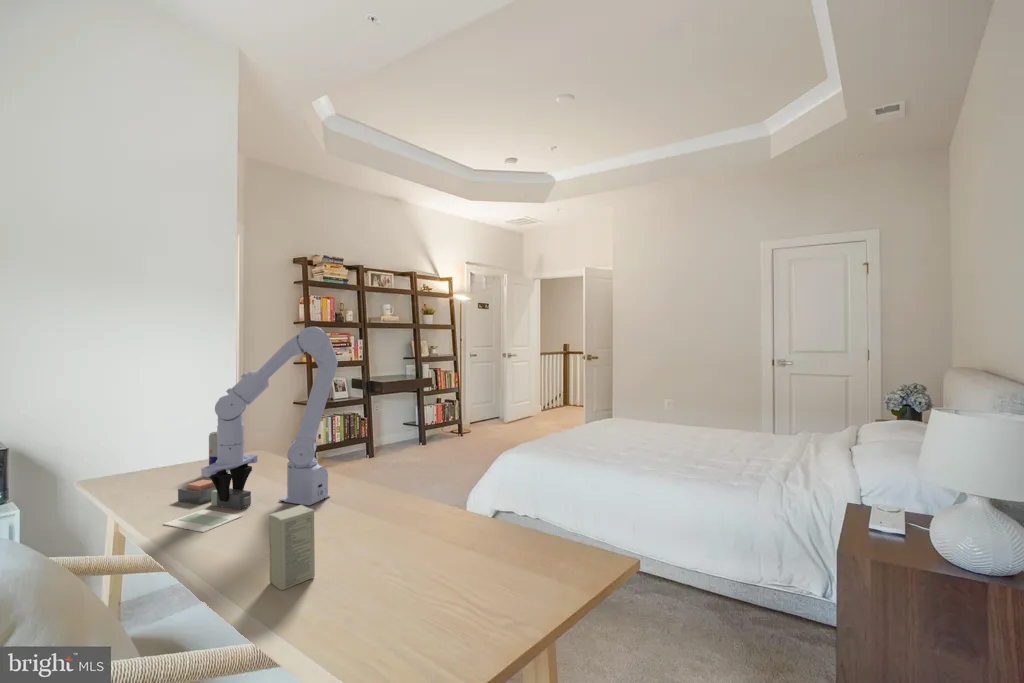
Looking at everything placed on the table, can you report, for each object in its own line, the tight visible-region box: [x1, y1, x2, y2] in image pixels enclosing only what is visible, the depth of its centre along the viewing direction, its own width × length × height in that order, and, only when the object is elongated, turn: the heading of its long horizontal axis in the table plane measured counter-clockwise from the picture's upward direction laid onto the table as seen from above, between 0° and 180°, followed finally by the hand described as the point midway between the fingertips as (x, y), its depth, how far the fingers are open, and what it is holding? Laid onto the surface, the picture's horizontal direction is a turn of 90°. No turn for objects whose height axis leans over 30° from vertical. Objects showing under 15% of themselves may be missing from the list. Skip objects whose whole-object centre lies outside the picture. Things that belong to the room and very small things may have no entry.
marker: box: [210, 487, 252, 510], centre depth 128 cm, size 10×3×3 cm, turn 70°
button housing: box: [177, 486, 216, 505], centre depth 133 cm, size 7×7×3 cm
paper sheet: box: [162, 508, 243, 533], centre depth 118 cm, size 12×10×1 cm
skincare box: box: [268, 504, 316, 591], centre depth 90 cm, size 6×4×12 cm
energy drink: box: [208, 431, 230, 473], centre depth 156 cm, size 5×5×12 cm
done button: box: [186, 479, 215, 491], centre depth 133 cm, size 4×4×2 cm
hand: (231, 498), depth 128 cm, fingers closed on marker, 3 cm apart
